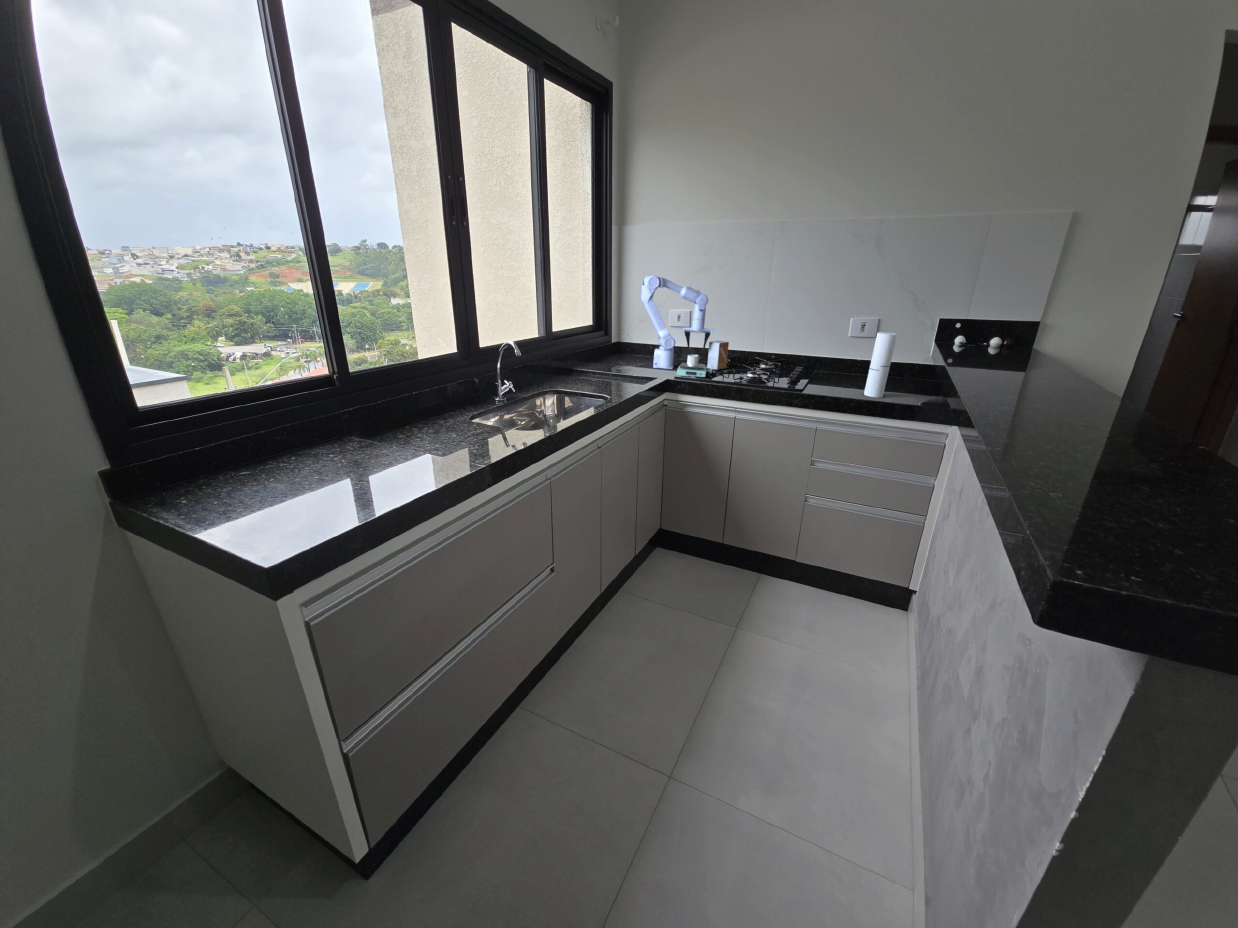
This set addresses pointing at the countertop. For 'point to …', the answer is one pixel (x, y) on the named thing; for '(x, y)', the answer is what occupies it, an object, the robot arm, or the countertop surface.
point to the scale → (692, 372)
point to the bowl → (693, 360)
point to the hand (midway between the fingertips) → (696, 347)
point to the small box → (717, 355)
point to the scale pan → (685, 365)
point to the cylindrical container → (880, 364)
